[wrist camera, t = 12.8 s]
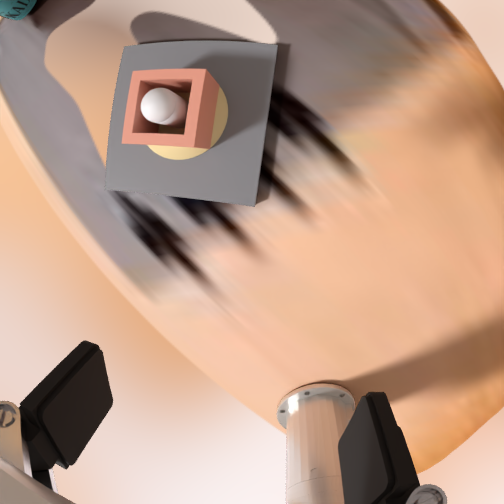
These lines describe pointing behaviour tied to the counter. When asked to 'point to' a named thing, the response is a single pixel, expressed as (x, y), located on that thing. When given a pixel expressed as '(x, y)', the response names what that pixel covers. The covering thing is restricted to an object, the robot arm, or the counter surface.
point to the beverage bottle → (16, 8)
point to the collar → (198, 112)
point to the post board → (228, 152)
